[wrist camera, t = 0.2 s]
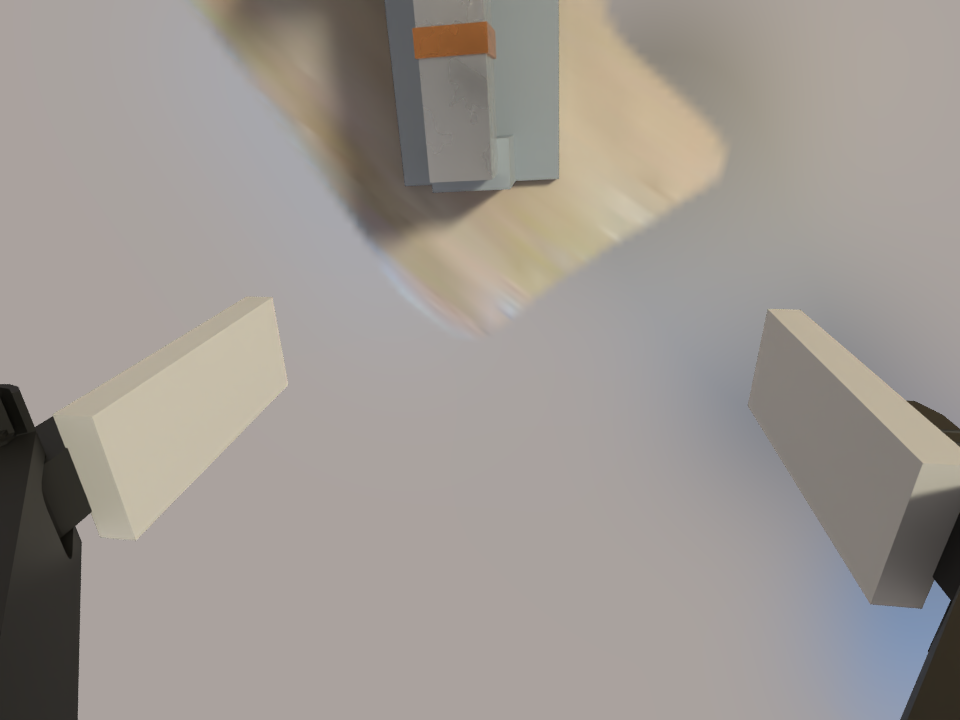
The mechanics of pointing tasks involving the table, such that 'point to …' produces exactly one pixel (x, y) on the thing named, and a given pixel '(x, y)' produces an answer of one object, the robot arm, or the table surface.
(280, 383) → the robot arm
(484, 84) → the brushed grey beam
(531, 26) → the stand
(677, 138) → the table surface
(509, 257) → the table surface
